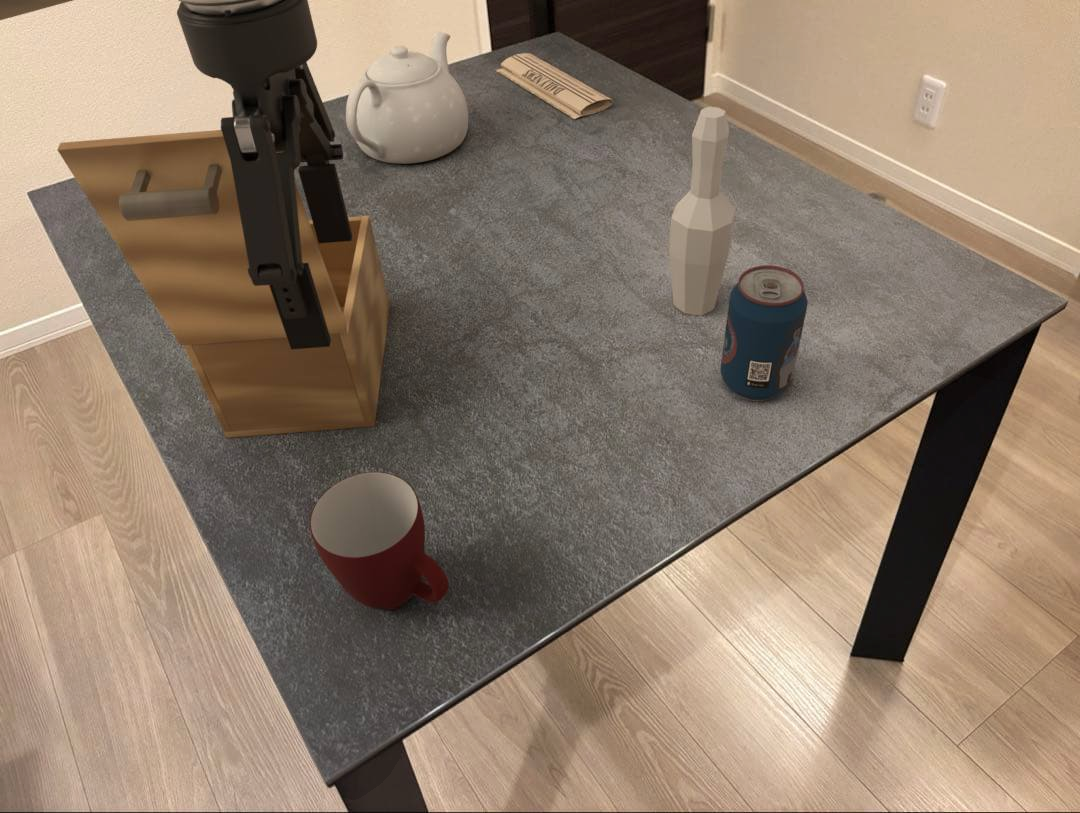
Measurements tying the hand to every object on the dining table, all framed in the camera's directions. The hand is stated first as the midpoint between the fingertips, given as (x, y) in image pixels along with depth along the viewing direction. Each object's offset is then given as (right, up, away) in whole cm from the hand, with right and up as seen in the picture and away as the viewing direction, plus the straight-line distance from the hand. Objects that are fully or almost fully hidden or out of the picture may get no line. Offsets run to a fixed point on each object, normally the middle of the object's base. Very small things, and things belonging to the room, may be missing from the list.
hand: (324, 288), depth 63 cm
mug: (+5, -24, +4) cm, 25 cm away
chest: (-7, -5, +25) cm, 26 cm away
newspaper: (+18, +42, +71) cm, 85 cm away
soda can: (+38, -7, +19) cm, 43 cm away
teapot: (-3, +30, +61) cm, 68 cm away
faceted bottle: (+34, +2, +29) cm, 45 cm away
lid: (-8, +3, +1) cm, 9 cm away
